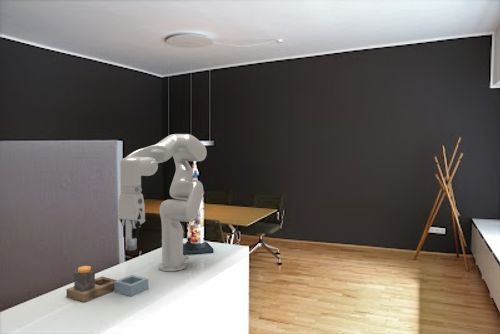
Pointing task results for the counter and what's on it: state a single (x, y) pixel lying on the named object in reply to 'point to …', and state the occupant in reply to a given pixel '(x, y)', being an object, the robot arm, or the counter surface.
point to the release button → (84, 269)
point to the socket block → (89, 287)
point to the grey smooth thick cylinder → (130, 236)
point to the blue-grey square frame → (131, 285)
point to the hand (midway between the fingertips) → (131, 236)
